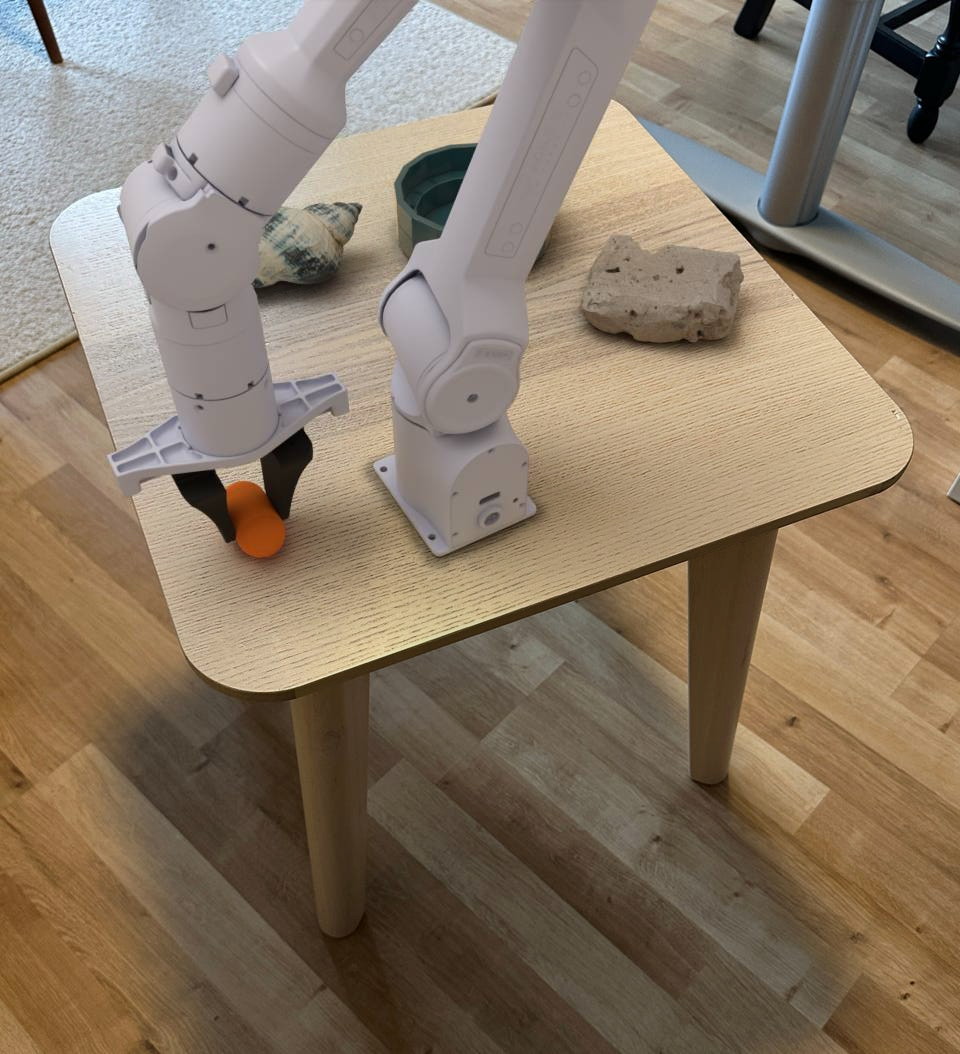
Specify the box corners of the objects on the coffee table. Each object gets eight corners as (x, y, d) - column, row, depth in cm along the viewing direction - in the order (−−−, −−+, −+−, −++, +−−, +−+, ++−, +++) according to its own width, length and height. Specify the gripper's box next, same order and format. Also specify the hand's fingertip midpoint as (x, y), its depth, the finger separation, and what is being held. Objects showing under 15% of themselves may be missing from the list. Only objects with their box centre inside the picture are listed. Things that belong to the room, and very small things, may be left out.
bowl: (578, 254, 92) (584, 204, 88) (444, 303, 88) (443, 252, 84) (499, 178, 100) (500, 128, 96) (371, 219, 95) (367, 169, 91)
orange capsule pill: (296, 555, 71) (290, 524, 69) (251, 574, 70) (243, 544, 68) (260, 495, 74) (253, 464, 72) (216, 513, 73) (208, 482, 71)
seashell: (227, 275, 92) (367, 273, 92) (209, 297, 86) (361, 294, 86) (218, 198, 90) (363, 196, 90) (199, 214, 83) (356, 212, 83)
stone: (571, 265, 91) (574, 349, 85) (585, 208, 86) (588, 293, 80) (725, 283, 92) (738, 367, 86) (746, 227, 87) (762, 312, 81)
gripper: (305, 287, 65) (326, 442, 76) (68, 366, 61) (126, 521, 71) (357, 355, 61) (372, 509, 72) (109, 446, 57) (163, 597, 67)
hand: (253, 520), depth 71 cm, fingers closed on orange capsule pill, 3 cm apart
